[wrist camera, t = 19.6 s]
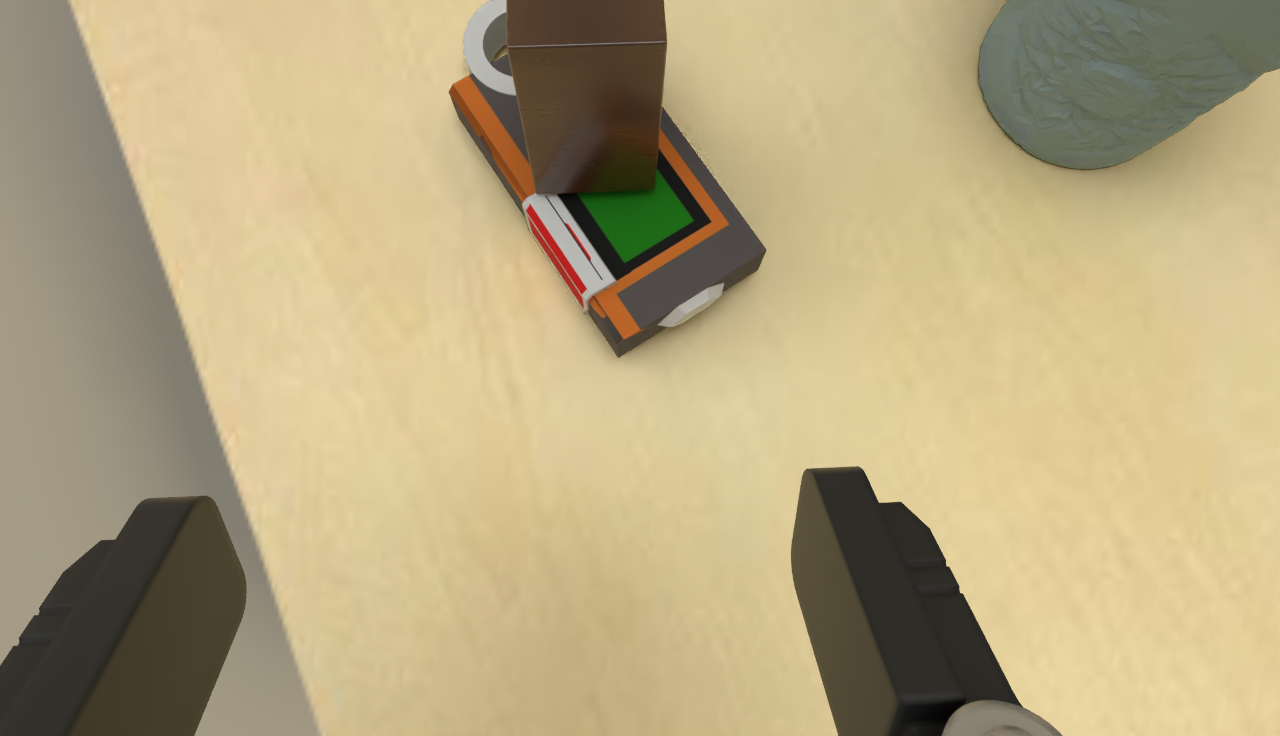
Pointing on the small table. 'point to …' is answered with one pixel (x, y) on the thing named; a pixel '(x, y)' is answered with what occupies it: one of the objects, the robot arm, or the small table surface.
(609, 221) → the electronic device
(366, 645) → the small table surface
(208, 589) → the robot arm
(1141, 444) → the small table surface
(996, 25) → the green cup
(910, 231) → the small table surface
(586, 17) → the walnut block
